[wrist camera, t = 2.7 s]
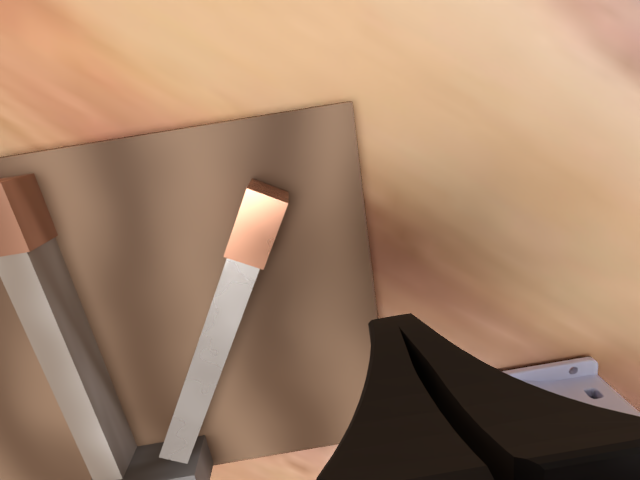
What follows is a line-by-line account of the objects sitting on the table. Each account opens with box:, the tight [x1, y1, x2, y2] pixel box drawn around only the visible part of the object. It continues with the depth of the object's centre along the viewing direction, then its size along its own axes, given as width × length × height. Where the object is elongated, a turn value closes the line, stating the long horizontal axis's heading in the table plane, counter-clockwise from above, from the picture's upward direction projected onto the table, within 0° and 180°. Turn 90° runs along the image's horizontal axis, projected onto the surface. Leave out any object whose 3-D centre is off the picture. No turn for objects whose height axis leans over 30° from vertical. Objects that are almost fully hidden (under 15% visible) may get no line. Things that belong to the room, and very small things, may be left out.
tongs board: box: [0, 102, 378, 480], centre depth 19 cm, size 22×18×5 cm
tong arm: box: [159, 179, 289, 464], centre depth 19 cm, size 14×2×2 cm, turn 159°
